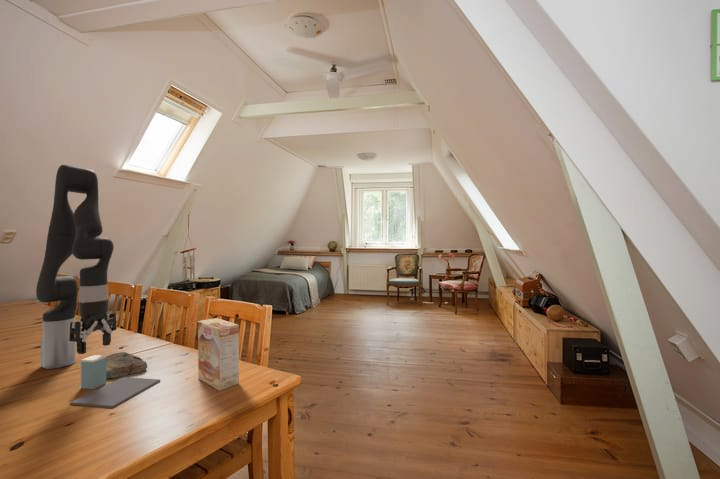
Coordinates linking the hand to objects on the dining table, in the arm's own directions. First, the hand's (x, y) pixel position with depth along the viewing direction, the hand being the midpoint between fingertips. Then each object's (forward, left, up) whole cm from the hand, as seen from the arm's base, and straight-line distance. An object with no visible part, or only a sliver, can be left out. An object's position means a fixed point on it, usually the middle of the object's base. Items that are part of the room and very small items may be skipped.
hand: (94, 349), depth 110 cm
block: (0, 0, -12) cm, 12 cm away
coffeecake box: (+38, +9, -12) cm, 41 cm away
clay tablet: (-4, +14, -12) cm, 19 cm away
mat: (+12, -3, -12) cm, 17 cm away
